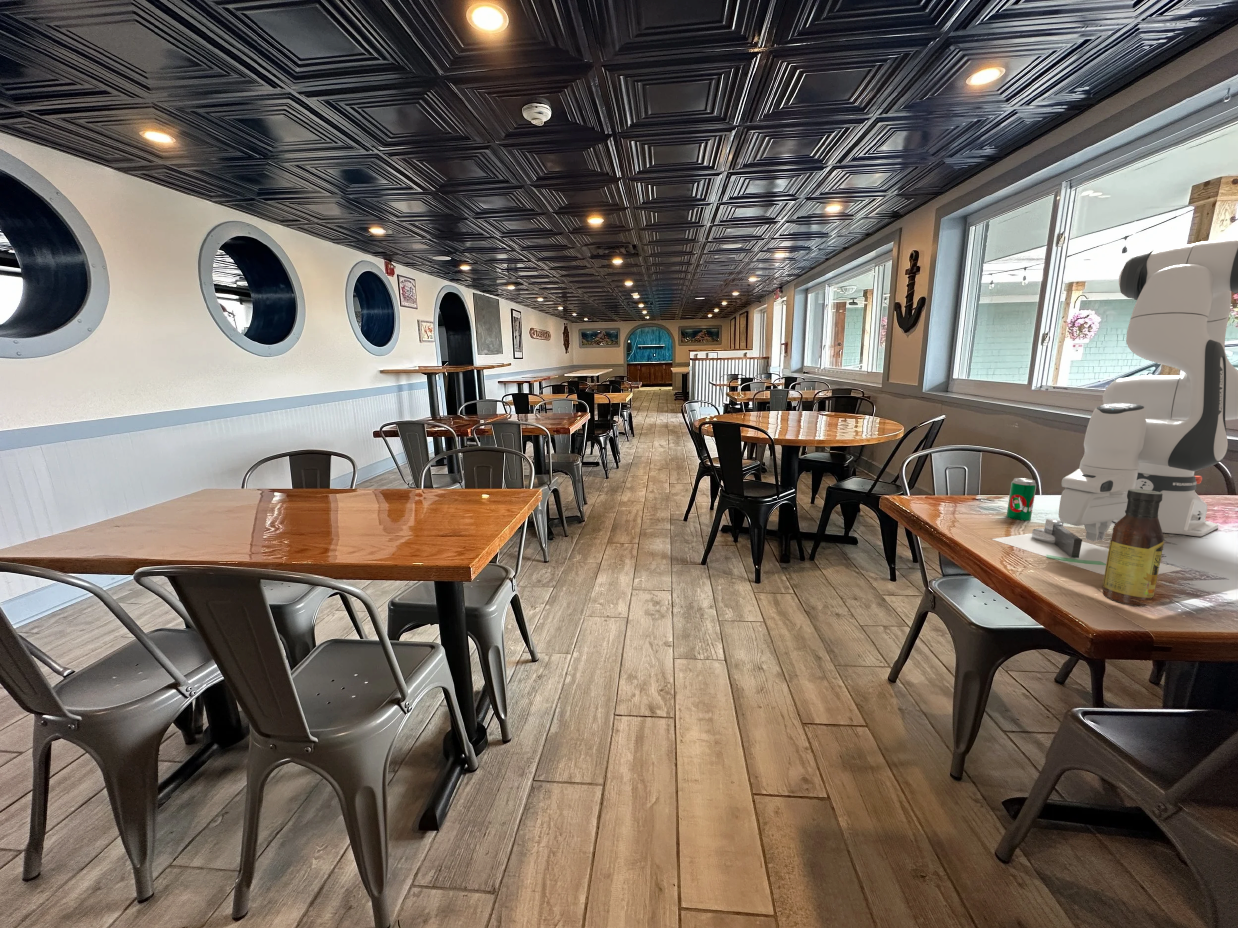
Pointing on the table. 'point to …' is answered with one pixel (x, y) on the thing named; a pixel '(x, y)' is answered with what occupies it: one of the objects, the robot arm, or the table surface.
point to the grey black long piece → (1059, 537)
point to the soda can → (1021, 499)
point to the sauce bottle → (1135, 550)
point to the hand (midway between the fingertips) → (1094, 539)
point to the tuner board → (1088, 557)
